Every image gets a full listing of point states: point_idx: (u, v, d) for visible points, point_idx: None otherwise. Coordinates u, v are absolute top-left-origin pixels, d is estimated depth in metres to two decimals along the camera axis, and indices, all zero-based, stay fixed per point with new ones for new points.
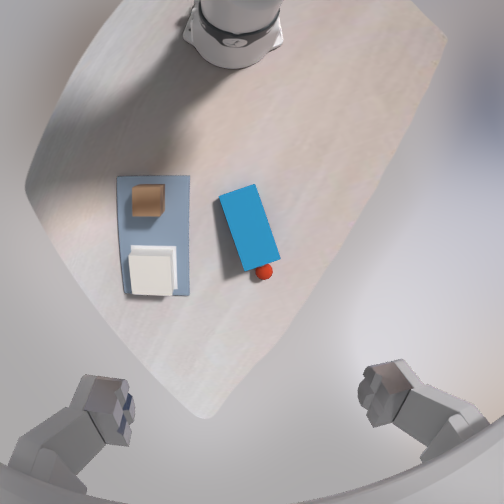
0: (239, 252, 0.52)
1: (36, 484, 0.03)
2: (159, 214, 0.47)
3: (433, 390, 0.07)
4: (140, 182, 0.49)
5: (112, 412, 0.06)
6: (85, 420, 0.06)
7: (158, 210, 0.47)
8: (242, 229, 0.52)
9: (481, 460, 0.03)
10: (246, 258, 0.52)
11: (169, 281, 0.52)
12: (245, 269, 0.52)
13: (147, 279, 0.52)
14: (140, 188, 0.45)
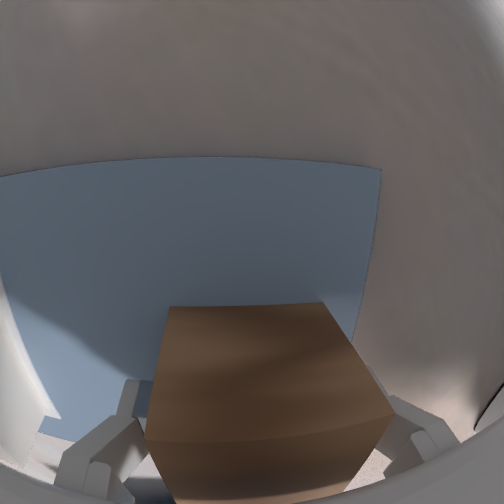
0: None
1: (36, 484, 0.03)
2: None
3: (398, 402, 0.07)
4: (330, 307, 0.10)
5: None
6: (134, 427, 0.06)
7: None
8: None
9: (481, 460, 0.03)
10: None
11: None
12: None
13: None
14: (366, 451, 0.05)
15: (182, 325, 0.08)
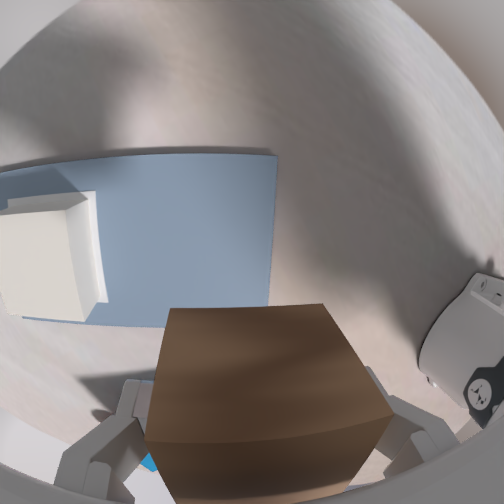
0: None
1: (36, 484, 0.03)
2: None
3: (397, 402, 0.07)
4: (258, 219, 0.21)
5: None
6: (134, 427, 0.06)
7: None
8: None
9: (481, 460, 0.03)
10: None
11: (31, 313, 0.17)
12: None
13: (20, 262, 0.15)
14: (366, 452, 0.05)
15: (182, 326, 0.08)
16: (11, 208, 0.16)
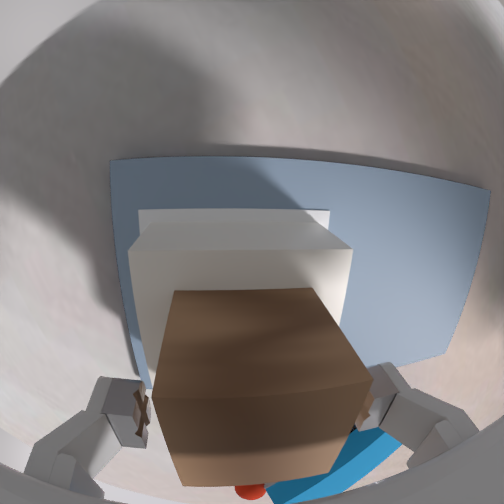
0: (312, 487, 0.18)
1: (36, 484, 0.03)
2: None
3: (420, 395, 0.07)
4: (471, 253, 0.16)
5: (131, 414, 0.06)
6: (103, 423, 0.06)
7: (213, 483, 0.07)
8: (351, 469, 0.19)
9: (481, 460, 0.03)
10: (299, 497, 0.18)
11: None
12: None
13: None
14: (350, 419, 0.06)
15: (185, 305, 0.09)
16: (166, 229, 0.12)
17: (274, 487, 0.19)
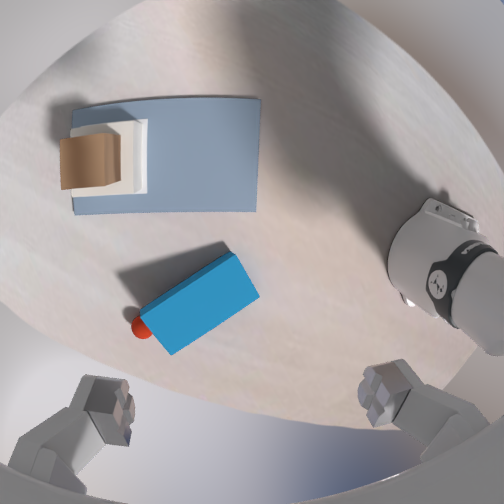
0: (163, 303, 0.34)
1: (36, 484, 0.03)
2: (64, 188, 0.23)
3: (433, 390, 0.07)
4: (249, 136, 0.32)
5: (112, 412, 0.06)
6: (85, 420, 0.06)
7: (69, 186, 0.23)
8: (196, 298, 0.35)
9: (481, 460, 0.03)
10: (157, 314, 0.34)
11: (92, 192, 0.28)
12: (142, 317, 0.33)
13: None
14: (102, 149, 0.22)
15: None
16: None
17: (144, 307, 0.35)
